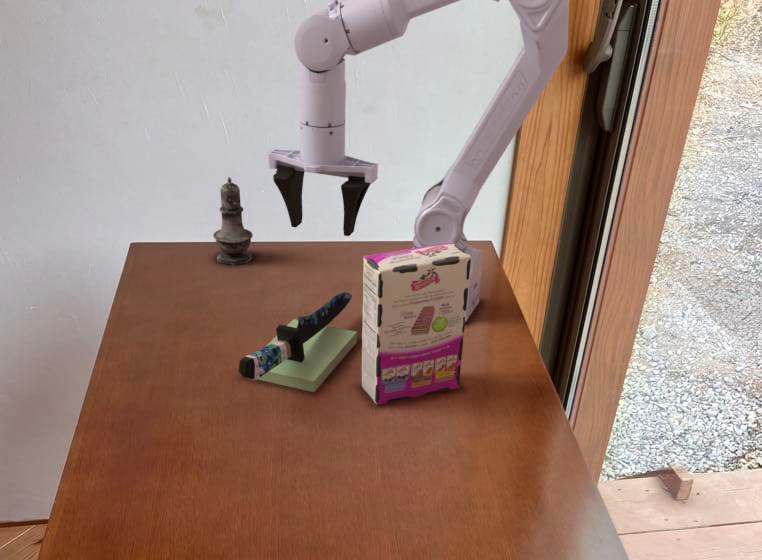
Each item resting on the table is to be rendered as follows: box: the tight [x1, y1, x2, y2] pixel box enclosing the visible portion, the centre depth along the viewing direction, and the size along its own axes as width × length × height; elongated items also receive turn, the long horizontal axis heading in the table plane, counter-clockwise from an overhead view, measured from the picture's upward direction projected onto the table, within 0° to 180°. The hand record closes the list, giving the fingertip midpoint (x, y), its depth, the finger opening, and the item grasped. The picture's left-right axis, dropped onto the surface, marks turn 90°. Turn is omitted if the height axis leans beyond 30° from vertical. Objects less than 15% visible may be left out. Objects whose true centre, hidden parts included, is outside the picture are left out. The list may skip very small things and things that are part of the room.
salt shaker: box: [212, 176, 254, 266], centre depth 131 cm, size 6×6×12 cm
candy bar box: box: [361, 242, 471, 406], centre depth 101 cm, size 11×5×16 cm, turn 114°
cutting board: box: [256, 318, 358, 393], centre depth 111 cm, size 9×14×2 cm, turn 159°
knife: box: [237, 291, 352, 382], centre depth 109 cm, size 31×3×4 cm, turn 154°
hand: (322, 229), depth 120 cm, fingers open, 7 cm apart
